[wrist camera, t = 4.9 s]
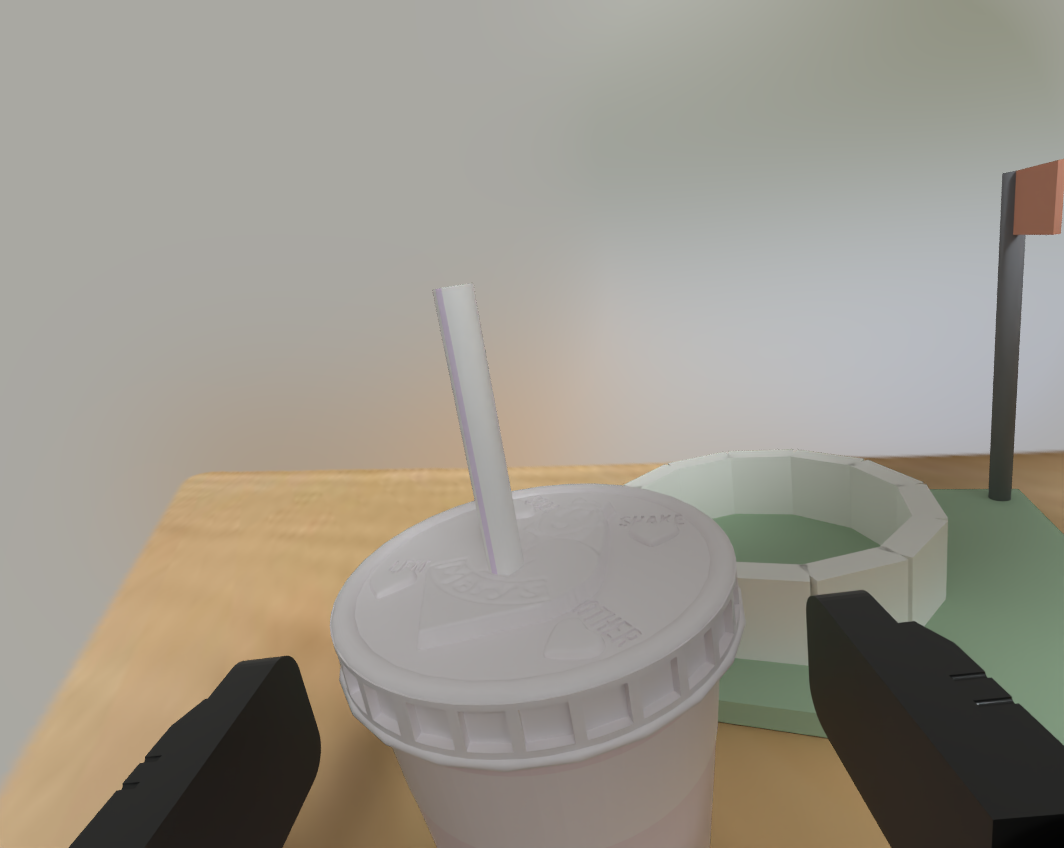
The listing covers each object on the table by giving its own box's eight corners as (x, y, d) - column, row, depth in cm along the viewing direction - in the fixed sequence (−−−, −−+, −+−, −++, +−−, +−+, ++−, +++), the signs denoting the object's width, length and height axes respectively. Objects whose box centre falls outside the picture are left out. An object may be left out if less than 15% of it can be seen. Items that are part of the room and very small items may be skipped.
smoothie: (383, 1045, 11) (148, 337, 8) (564, 792, 16) (471, 283, 12) (698, 1404, 7) (512, 273, 4) (815, 923, 12) (780, 231, 8)
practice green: (1017, 504, 27) (1037, 168, 23) (1300, 807, 13) (1468, 61, 9) (573, 503, 35) (535, 258, 32) (445, 681, 21) (350, 276, 18)
